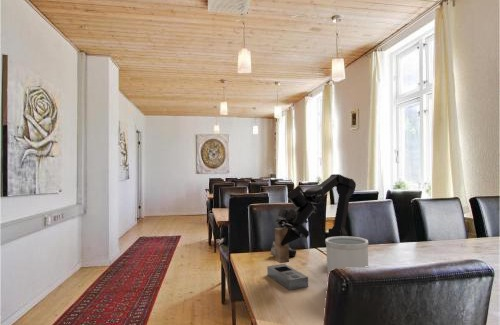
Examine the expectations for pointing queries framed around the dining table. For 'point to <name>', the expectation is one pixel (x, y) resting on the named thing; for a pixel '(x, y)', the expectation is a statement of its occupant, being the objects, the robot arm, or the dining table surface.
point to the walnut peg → (280, 250)
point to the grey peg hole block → (287, 276)
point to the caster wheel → (291, 251)
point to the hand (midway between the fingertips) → (278, 243)
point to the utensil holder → (346, 252)
